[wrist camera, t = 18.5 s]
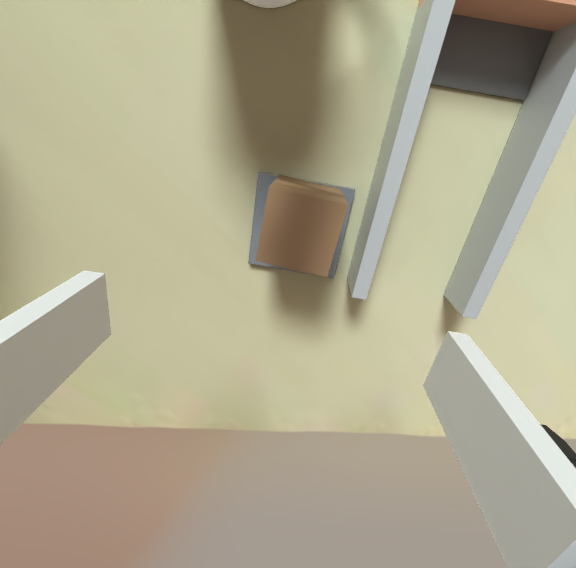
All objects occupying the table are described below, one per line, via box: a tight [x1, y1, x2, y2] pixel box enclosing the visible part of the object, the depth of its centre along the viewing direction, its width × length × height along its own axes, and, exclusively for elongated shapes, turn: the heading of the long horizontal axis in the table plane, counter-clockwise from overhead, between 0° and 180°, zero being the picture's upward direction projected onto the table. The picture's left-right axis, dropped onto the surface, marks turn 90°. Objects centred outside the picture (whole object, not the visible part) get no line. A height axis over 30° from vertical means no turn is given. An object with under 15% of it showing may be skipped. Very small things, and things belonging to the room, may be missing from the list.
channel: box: [347, 0, 576, 319], centre depth 23 cm, size 10×21×4 cm, turn 171°
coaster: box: [248, 172, 355, 278], centre depth 28 cm, size 8×8×1 cm
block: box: [255, 175, 348, 277], centre depth 23 cm, size 5×5×7 cm
